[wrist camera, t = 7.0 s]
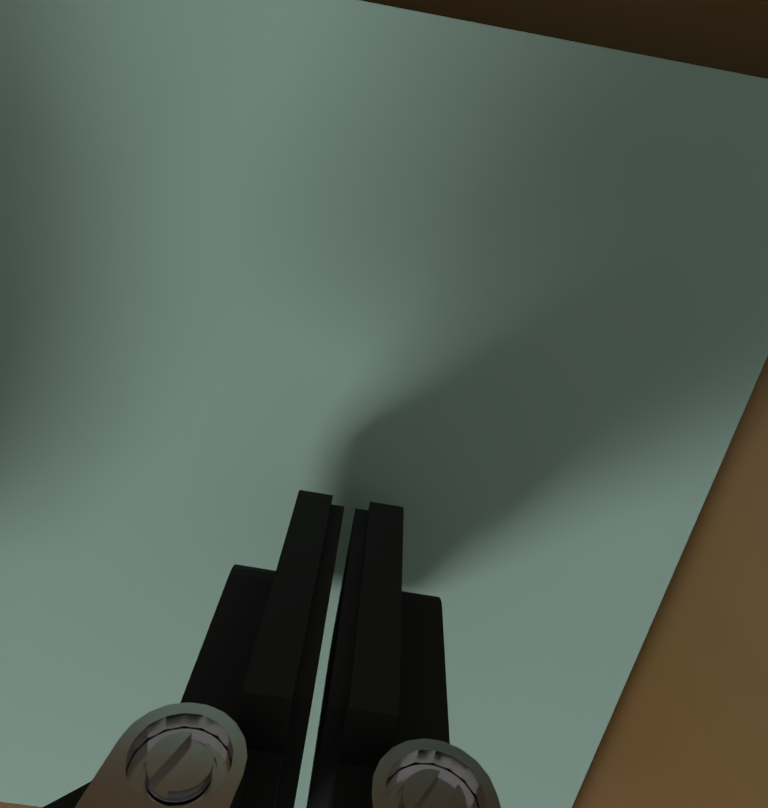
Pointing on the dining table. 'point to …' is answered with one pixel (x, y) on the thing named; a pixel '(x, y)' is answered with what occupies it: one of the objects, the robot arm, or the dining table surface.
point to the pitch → (358, 349)
